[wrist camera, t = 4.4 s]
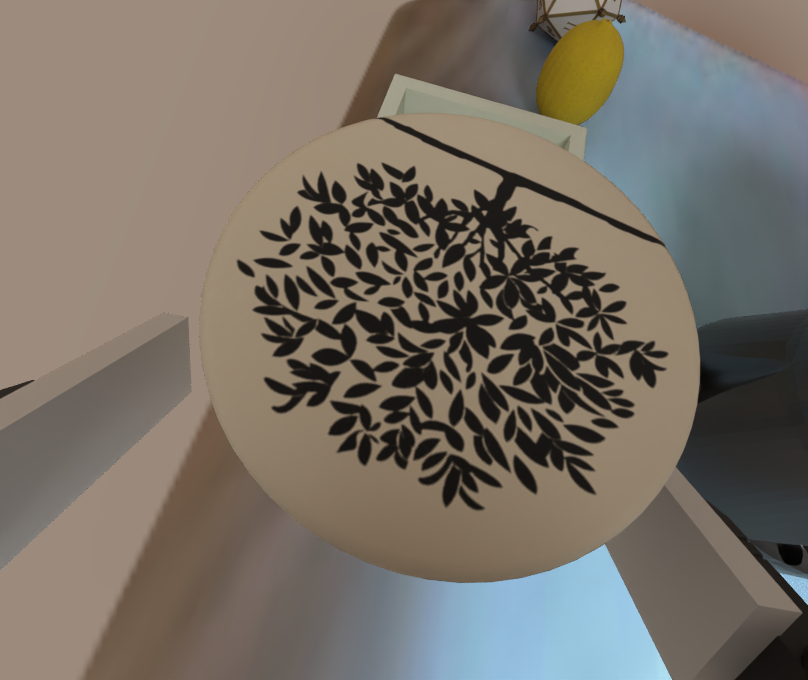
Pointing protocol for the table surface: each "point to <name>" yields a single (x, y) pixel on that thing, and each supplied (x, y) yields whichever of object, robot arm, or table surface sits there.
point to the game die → (573, 14)
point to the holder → (478, 111)
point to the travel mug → (449, 347)
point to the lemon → (580, 72)
